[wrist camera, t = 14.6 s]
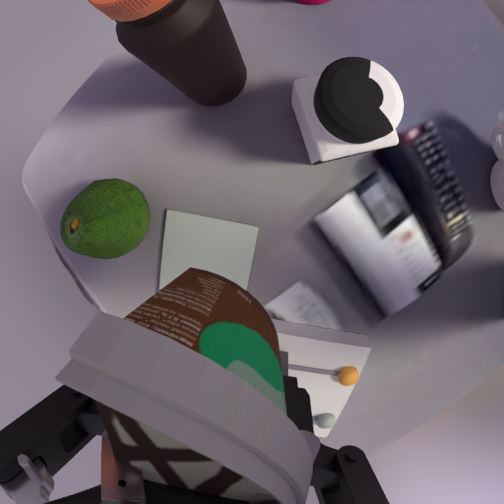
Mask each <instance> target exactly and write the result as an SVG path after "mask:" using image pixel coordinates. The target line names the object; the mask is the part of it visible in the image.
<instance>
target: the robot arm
mask: <svg viewBox="0 0 504 504" xmlns="http://www.w3.org/2000/svg"><path fill="white" fill-rule="evenodd" d="M283 384H284V393H285V402H286V411H287V417H288V418H289V419H290V420H291V421H292V422H293V423H294V424H295V425H296V427H297V428H298V429H299V431H300V432H301V434H302V435H303V437H304V438H305V440H306V441H307V443H308V446H309V449H310V452H311V455H312V458H313V473H312V477H311V482H310V485H311V486H314V488H315V491H316V494H317V497H318V500H319V503H320V504H389V502H388V500H387V498H386V496H385V494H384V492H383V490H382V488H381V486H380V484H379V482H378V480H377V478H376V476H375V474H374V472H373V470H372V468H371V466H370V464H369V462H368V460H367V458H366V456H365V454H364V452H363V451H362V450H361V449H359V448H358V447H355V446H350V445H348V446H343V447H341V448H340V449H339V450H337V449H333V448H330V447H327V446H325V445H323V444H321V443H320V440H319V438H318V437H317V436H316V435H315V434H314V428H313V419H312V411H311V405H310V404H311V402H310V395H309V394H308V392H307V391H306V389H305V388H299V387H298V382H297V377H292V376H286V375H283ZM96 435H102V451H101V485H98V486H95V487H93V488H90V489H87V490H85V491H82V492H79V493H76V494H73V495H70V496H67V497H63V498H61V499H57V500H54V501H50V502H49V496H50V493H51V492H52V490H53V489H54V480H53V478H52V477H53V476H54V475H55V474H56V473H57V472H58V471H59V470H60V469H61V468H62V467H63V466H64V465H65V464H67V463H68V461H70V460H71V459H72V458H73V457H74V456H75V455H76V454H77V453H78V452H79V451H80V450H81V449H82V448H83V447H84V446H85V445H86V444H87V443H88V442H90V441H91V440H92V439H93V438H94V437H95V436H96ZM0 489H1V490H2V491H4V492H5V493H6V494H7V495H8V496H9V497H10V498H12V499H13V500H14V501H15V502H16V503H17V504H281V503H280V502H279V501H278V500H277V499H275V498H274V497H273V496H272V495H271V494H264V493H256V494H255V495H254V497H253V498H252V500H251V501H250V502H249V501H244V500H237V499H232V498H226V497H221V496H216V495H211V494H207V493H202V492H197V491H192V490H187V489H181V488H176V487H173V486H169V485H166V484H161V483H157V482H153V481H150V480H146V479H143V472H142V468H141V467H138V466H136V465H133V464H130V463H127V462H125V461H123V462H120V461H118V460H117V458H116V457H114V454H113V450H112V447H111V444H110V440H109V437H108V435H107V432H106V429H105V426H104V423H103V420H102V417H101V414H100V411H99V409H98V406H97V404H96V402H95V399H93V398H91V397H89V396H87V395H85V394H83V393H81V392H79V391H77V390H74V389H72V388H70V387H68V386H67V385H65V384H64V385H63V386H61V387H60V388H58V389H57V390H56V391H54V392H53V393H52V394H51V395H49V396H48V397H46V398H45V399H44V400H42V401H41V402H39V403H38V404H37V405H35V406H34V407H32V408H31V409H30V410H28V411H27V412H26V413H24V414H23V415H21V416H20V417H19V418H17V419H16V420H15V421H13V422H12V423H11V424H9V425H8V426H6V427H5V428H4V429H2V430H1V431H0ZM296 504H297V502H296Z"/></svg>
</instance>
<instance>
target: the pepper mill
mask: <svg viewBox="0 0 504 504" xmlns="http://www.w3.org/2000/svg"><path fill="white" fill-rule="evenodd" d="M295 1H298V2H301V3H304V4H310V5H318V4H323V3H326V2H328V1H330V0H295Z"/></svg>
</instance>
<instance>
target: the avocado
mask: <svg viewBox="0 0 504 504" xmlns="http://www.w3.org/2000/svg"><path fill="white" fill-rule="evenodd" d="M149 221H150V213H149V206H148V203H147V201H146V199H145V196H144V194H143V193H142V192H141V191H140V190H139V189H138V188H137V187H136V186H134V185H133V184H131V183H128V182H126V181H124V180H121V179H116V178H114V179H104V180H97V181H94V182H93V183H91V184H90V185H89V186H87V187H86V188H85V189H84V190H83V191H81V192H80V193H79V194H78V195H77V196H76V197H75V198H74V199H73V200H72V201H71V202H70V204H69V205H68V207H67V208H66V210H65V212H64V215H63V218H62V221H61V238H62V240H63V241H64V243H65V245H66V246H67V248H69V249H70V250H72V251H74V252H76V253H78V254H81V255H85V256H89V257H93V258H100V259H111V258H117V257H120V256H122V255H124V254H126V253H128V252H129V251H131V250H132V249H134V248H135V247H136V246H137V245H138V244H139V243H140V241H141V240H142V239H143V237H144V235H145V234H146V232H147V230H148V227H149Z"/></svg>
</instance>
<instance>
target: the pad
mask: <svg viewBox="0 0 504 504" xmlns="http://www.w3.org/2000/svg"><path fill="white" fill-rule="evenodd" d="M258 231H259V226H254V225H249V224H244V223H239V222H234V221H229V220H224V219H219V218H213V217H208V216H203V215H197V214H192V213H187V212H181V211H176V210H170V209H168V210H167V215H166V224H165V232H164V241H163V251H162V262H161V274H160V287H159V291H160V290H161V289H162V288H164V287H165V286H166V285H167V284H169V283H170V282H171V281H173V280H174V279H175V278H177V277H178V276H179V275H181V274H182V273H183V272H185V271H186V270H187V269H189V268H190V267H192V268H197V269H202V270H207V271H210V272H212V273H215V274H218V275H221V276H223V277H225V278H227V279H229V280H231V281H233V282H235V283H236V284H238V285H239V286H241V287H242V288H243V289H245V290H246V291H247V287H248V282H249V277H250V272H251V267H252V261H253V256H254V251H255V246H256V241H257V236H258Z"/></svg>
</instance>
